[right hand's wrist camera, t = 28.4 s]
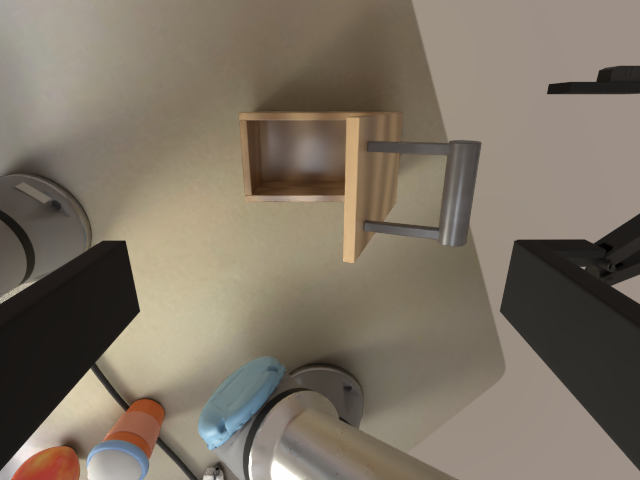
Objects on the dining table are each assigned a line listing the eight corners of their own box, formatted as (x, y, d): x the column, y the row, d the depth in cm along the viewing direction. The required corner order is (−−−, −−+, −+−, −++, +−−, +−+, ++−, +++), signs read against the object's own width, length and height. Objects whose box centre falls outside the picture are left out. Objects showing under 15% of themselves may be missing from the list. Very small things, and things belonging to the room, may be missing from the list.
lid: (342, 261, 25) (462, 279, 23) (346, 117, 22) (488, 118, 19) (388, 202, 41) (463, 209, 38) (394, 112, 38) (477, 112, 35)
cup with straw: (166, 390, 62) (109, 495, 45) (178, 428, 65) (129, 540, 49) (115, 393, 63) (40, 499, 46) (130, 432, 66) (64, 544, 49)
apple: (39, 463, 69) (-6, 519, 59) (42, 428, 65) (-5, 481, 56) (89, 474, 70) (54, 531, 60) (95, 440, 67) (58, 495, 57)
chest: (258, 185, 50) (245, 201, 41) (253, 111, 46) (238, 112, 38) (379, 185, 50) (391, 201, 41) (383, 111, 46) (398, 112, 38)
